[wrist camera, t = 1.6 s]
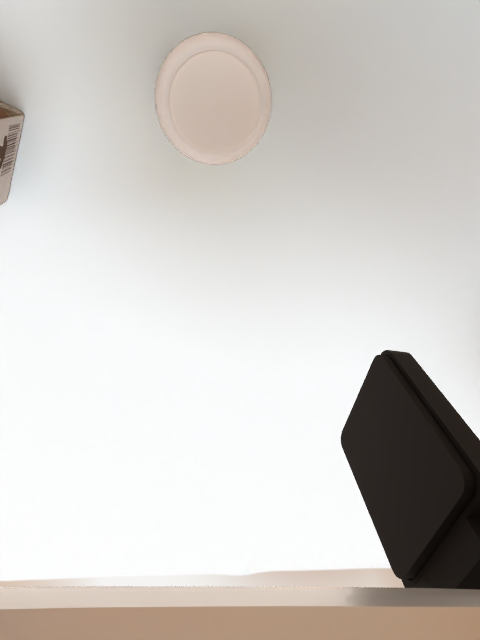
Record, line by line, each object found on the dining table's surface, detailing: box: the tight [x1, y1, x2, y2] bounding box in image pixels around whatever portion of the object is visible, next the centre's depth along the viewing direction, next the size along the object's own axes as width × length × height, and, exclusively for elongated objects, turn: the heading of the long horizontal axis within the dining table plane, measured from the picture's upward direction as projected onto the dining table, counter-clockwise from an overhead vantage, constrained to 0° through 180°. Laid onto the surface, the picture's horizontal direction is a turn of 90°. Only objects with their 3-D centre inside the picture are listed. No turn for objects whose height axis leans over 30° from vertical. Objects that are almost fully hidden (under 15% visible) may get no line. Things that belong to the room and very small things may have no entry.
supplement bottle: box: [155, 32, 271, 164], centre depth 22 cm, size 6×6×10 cm
